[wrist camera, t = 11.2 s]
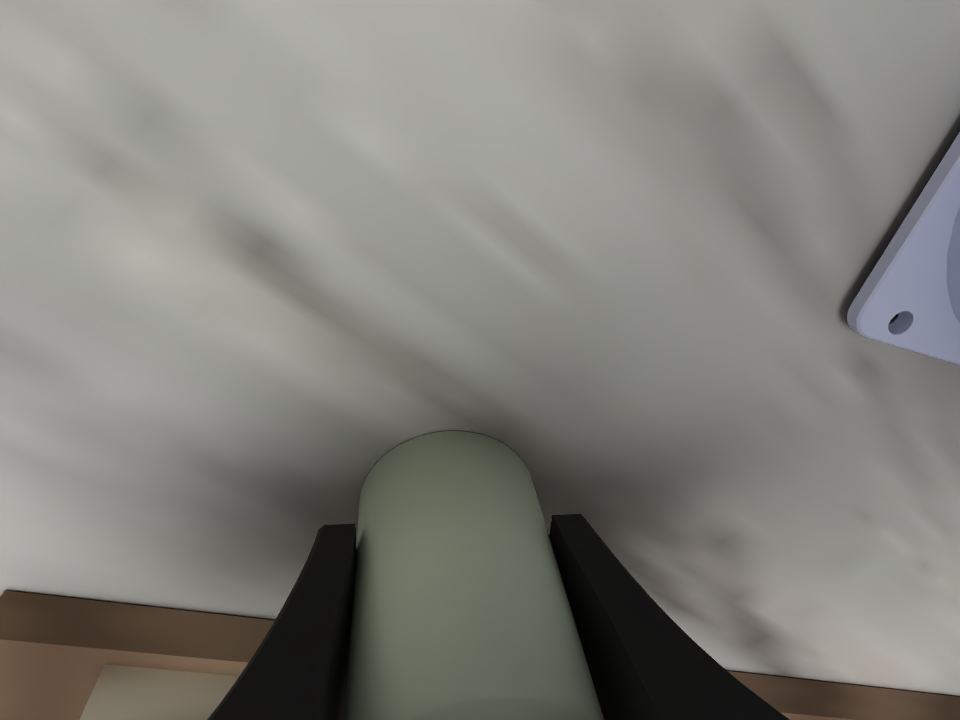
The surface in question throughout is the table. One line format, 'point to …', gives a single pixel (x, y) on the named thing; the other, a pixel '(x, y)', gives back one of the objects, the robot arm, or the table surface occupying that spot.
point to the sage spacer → (460, 592)
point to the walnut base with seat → (230, 646)
